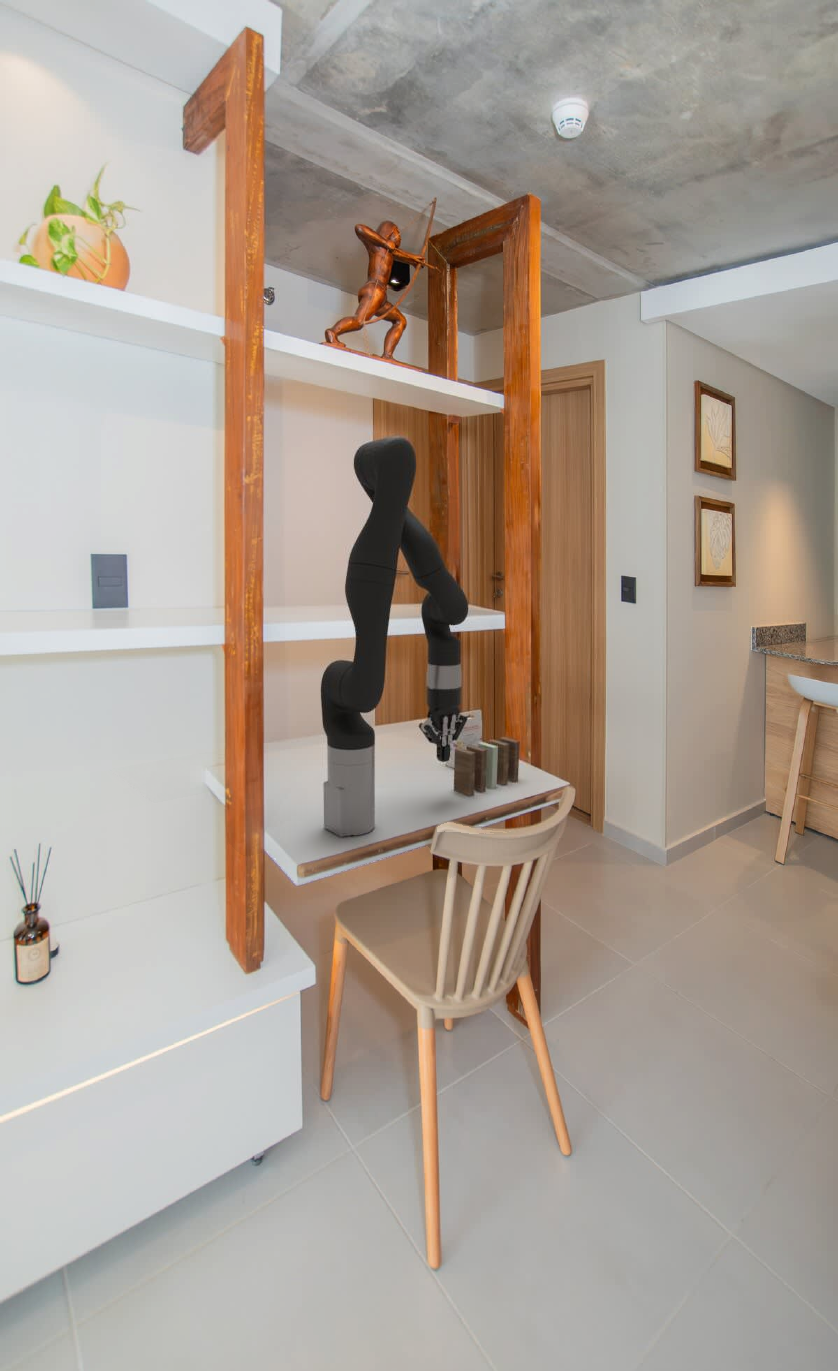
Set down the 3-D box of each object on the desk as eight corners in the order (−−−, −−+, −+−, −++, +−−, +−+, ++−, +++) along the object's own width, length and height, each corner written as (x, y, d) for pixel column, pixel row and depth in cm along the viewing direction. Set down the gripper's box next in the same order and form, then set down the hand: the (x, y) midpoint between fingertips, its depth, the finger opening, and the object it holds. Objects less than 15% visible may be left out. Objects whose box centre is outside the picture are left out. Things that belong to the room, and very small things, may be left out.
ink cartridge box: (469, 759, 176) (470, 705, 174) (481, 764, 173) (483, 709, 170) (444, 765, 171) (445, 709, 169) (456, 770, 168) (457, 713, 165)
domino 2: (480, 792, 152) (482, 750, 150) (465, 786, 155) (466, 746, 153) (485, 791, 153) (487, 749, 151) (470, 785, 156) (471, 744, 154)
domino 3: (502, 785, 156) (504, 745, 155) (487, 780, 160) (489, 740, 158) (507, 784, 158) (509, 743, 156) (492, 778, 161) (493, 739, 159)
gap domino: (491, 788, 154) (493, 747, 152) (476, 783, 158) (477, 743, 156) (496, 787, 155) (497, 746, 153) (481, 781, 159) (482, 741, 157)
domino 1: (469, 796, 149) (470, 753, 147) (453, 790, 153) (454, 748, 151) (474, 794, 150) (475, 752, 148) (458, 788, 154) (459, 747, 152)
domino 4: (513, 782, 159) (515, 742, 157) (498, 777, 163) (499, 737, 161) (517, 780, 160) (519, 741, 158) (502, 775, 164) (504, 736, 162)
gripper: (453, 677, 149) (452, 751, 153) (409, 685, 141) (409, 762, 144) (477, 682, 144) (476, 758, 147) (433, 691, 135) (432, 771, 139)
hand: (443, 760), depth 146 cm, fingers closed
